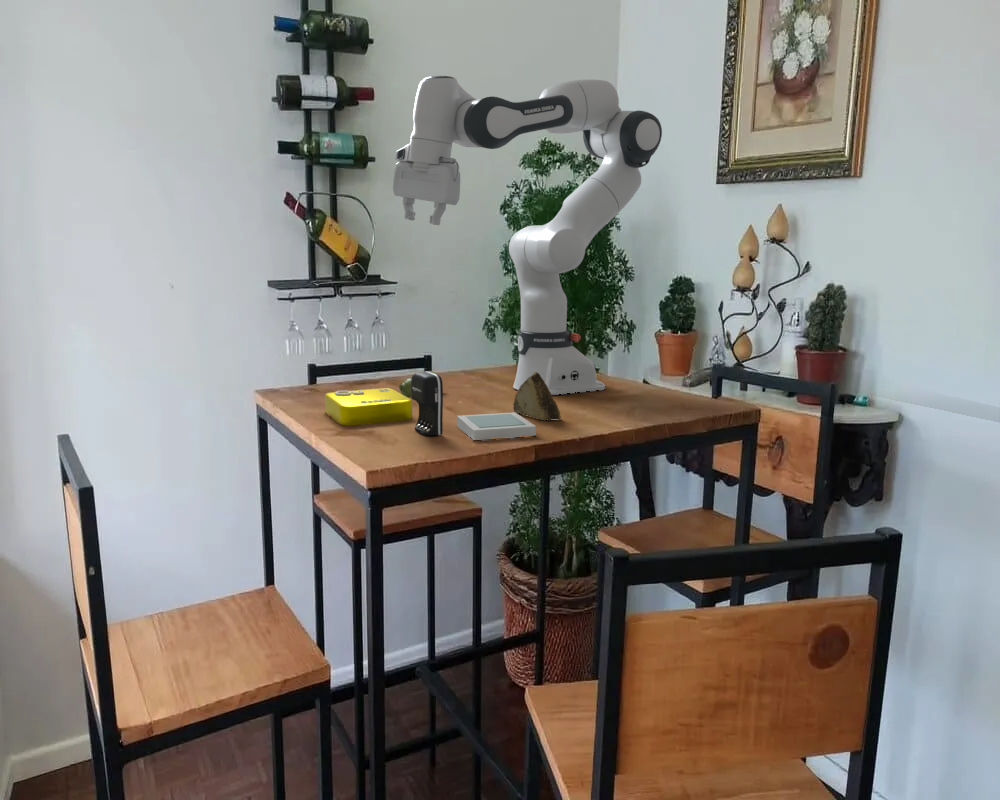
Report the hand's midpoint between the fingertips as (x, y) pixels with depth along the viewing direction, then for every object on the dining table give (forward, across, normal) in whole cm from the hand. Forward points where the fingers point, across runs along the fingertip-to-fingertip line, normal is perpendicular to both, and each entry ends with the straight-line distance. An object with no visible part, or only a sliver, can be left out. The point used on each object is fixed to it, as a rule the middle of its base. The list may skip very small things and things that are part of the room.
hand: (421, 222), depth 169 cm
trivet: (+36, -37, +3) cm, 51 cm away
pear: (+40, +1, -6) cm, 40 cm away
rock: (+35, -32, -12) cm, 49 cm away
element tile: (+40, -10, +15) cm, 44 cm away
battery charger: (+37, -30, +14) cm, 50 cm away
